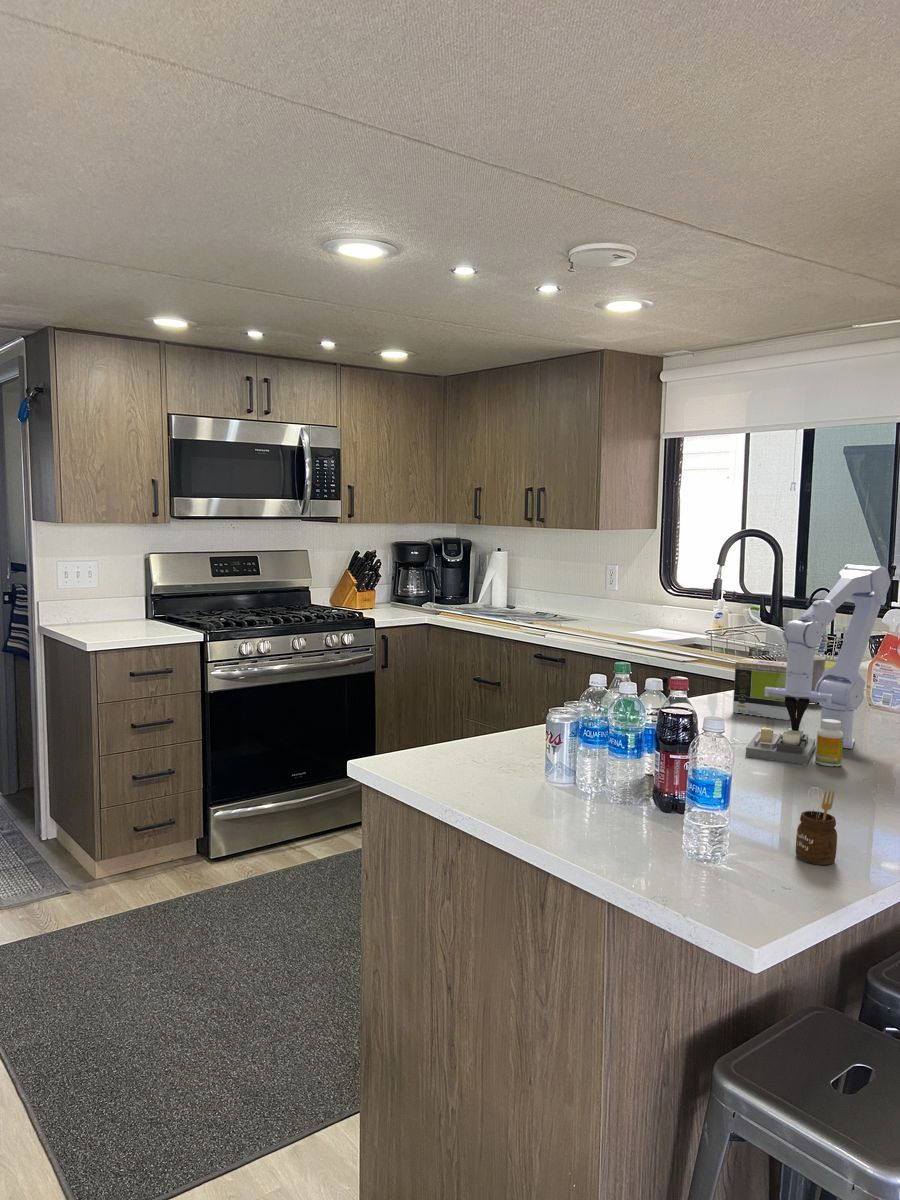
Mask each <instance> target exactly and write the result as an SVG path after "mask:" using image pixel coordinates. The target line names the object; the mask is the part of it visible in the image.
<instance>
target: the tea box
mask: <svg viewBox="0 0 900 1200" xmlns="http://www.w3.org/2000/svg"><path fill="white" fill-rule="evenodd" d="M786 669H787V661H786V662H785V661H775V660H766V659H755V658H753V659H752V658H743V659H742V658H741V659H740V660H737V661H735V667H734V687H733V703H732V704H733V708H732V713H733V712H735V713H734V714H737V713H743V714H742V715H745V714H751V715H750V716H752V715H757V716H756V717H760V716H763V717H762V718H767V717H770V718H769V719H775V718H776V720H782V719H783V720H784V721H789V720H790V716H789V713H788V710H787V708H786V706H785V703H784V701H785V698H781V697H772V696H769V697H768V696H764V693H765V688H766V687H772V688H785V683H786Z"/></svg>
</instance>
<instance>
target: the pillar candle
mask: <svg viewBox="0 0 900 1200" xmlns="http://www.w3.org/2000/svg"><path fill="white" fill-rule="evenodd" d="M826 659H827V658H826V657H824V656H821V655H817V654H814V662H813V676H812V689H811V691H814V692H815V687H816V684H817V682H818V681H819V680H820V678H821V677H822V675H823V672H824V671H825V670H826V669H825V666H826ZM803 698H806V697H803ZM810 703H819V702H815V701H810Z"/></svg>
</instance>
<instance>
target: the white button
mask: <svg viewBox="0 0 900 1200" xmlns="http://www.w3.org/2000/svg"><path fill="white" fill-rule="evenodd" d="M786 732H787V731H786ZM782 734H783V740H782V743H783V744H789V745H796V746H799V742H800V735H799V734H796V733H788V732H787V733H784V732H782Z"/></svg>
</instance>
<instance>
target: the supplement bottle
mask: <svg viewBox="0 0 900 1200" xmlns="http://www.w3.org/2000/svg"><path fill="white" fill-rule="evenodd" d="M820 724H821V726H822V728H821V729H820V728H819V729H818V730H817V733H816V742H817V743H816V742H815V760H814V761H815V763H816V764H818V765H820V764H821V765H820V766H825V767H832V768H833V766H836V767H840V766H841V765H842V760H843V736H844V735H843V732H841V731H840V730H839V729H840V728H841V722H840V721H838V720H833V719H822V722H821V721H820Z"/></svg>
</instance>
